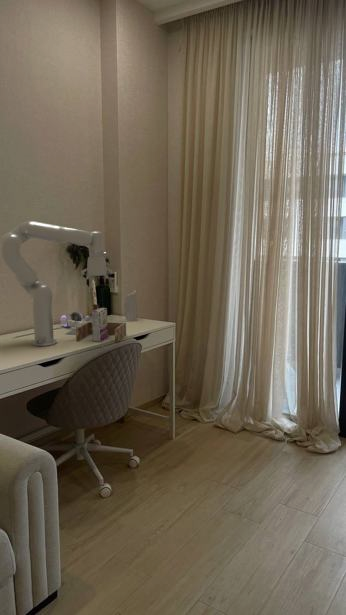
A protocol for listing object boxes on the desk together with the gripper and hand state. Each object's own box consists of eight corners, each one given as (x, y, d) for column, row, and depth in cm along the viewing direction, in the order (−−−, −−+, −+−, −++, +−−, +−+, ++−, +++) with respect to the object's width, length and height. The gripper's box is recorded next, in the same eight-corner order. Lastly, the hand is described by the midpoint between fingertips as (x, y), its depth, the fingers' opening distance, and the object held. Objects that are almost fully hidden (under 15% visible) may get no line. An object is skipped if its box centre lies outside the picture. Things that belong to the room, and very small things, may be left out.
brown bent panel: (117, 342, 238) (116, 329, 237) (76, 341, 242) (75, 328, 241) (126, 334, 256) (125, 322, 255) (88, 333, 260) (87, 321, 259)
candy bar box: (99, 336, 252) (98, 307, 250) (108, 337, 251) (107, 307, 249) (92, 341, 241) (91, 311, 239) (101, 341, 240) (100, 311, 238)
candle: (117, 319, 305) (116, 289, 302) (137, 319, 303) (137, 289, 300) (114, 321, 298) (114, 291, 294) (135, 321, 296) (135, 291, 293)
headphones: (54, 326, 276) (84, 334, 268) (55, 314, 275) (84, 321, 266) (77, 320, 296) (105, 327, 287) (78, 309, 295) (106, 315, 286)
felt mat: (78, 334, 258) (78, 334, 258) (65, 334, 259) (65, 333, 259) (85, 330, 270) (85, 329, 270) (72, 329, 271) (72, 329, 271)
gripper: (112, 253, 249) (113, 284, 252) (80, 254, 246) (81, 286, 249) (112, 254, 242) (113, 286, 244) (79, 255, 239) (81, 287, 242)
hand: (97, 286), depth 247 cm, fingers open, 9 cm apart
